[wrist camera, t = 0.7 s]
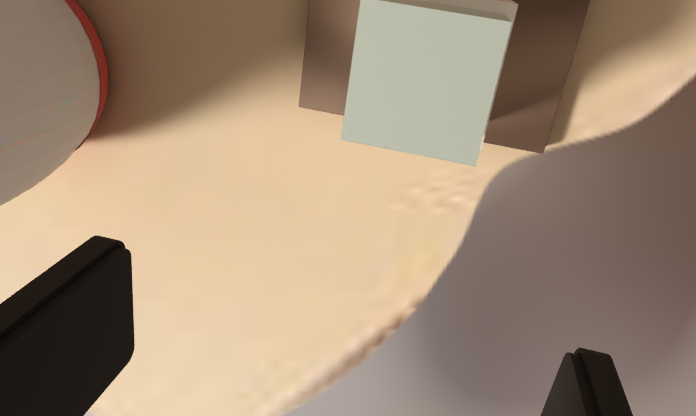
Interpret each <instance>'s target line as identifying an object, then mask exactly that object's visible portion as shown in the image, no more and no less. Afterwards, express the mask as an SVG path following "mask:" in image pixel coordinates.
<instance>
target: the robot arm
mask: <svg viewBox="0 0 696 416" xmlns="http://www.w3.org/2000/svg"><path fill="white" fill-rule="evenodd" d="M133 351H134V321H133V293H132V265H131V253H130V251H129V250H128V249H125V245H124V243H123V242H121V241H119V240H114V239H110V238H106V237H102V236H94V237H92V238H90V239H89V240H87V241H86V242H85V243H83V244H82V245H81V246H79V247H78V248H76V249H75V250H74V251H72V252H71V253H70V254H68V255H67V256H65V257H64V258H63V259H61V260H60V261H59V262H57V263H56V264H54V265H53V266H52V267H50V268H49V269H48V270H46V271H45V272H43V273H42V274H41V275H39V276H38V277H37V278H35V279H34V280H32V281H31V282H30V283H28V284H27V285H26V286H24V287H23V288H22V289H20V290H19V291H17V292H16V293H15V294H13V295H12V296H11V297H9V298H8V299H6V300H5V301H4V302H2V303H1V304H0V416H83V415H84V414H85V413H86V412H87V411H88V410H89V408H90V407H91V406H92V405H93V404H94V402H95V401H96V400H97V399H98V398H99V397H100V395H101V394H102V393H103V392H104V391H105V389H106V388H107V387H108V386H109V385H110V384H111V382H112V381H113V380H114V379H115V378H116V377H117V375H118V374H119V373H120V372H121V371H122V369H123V368H124V367H125V366H126V365H127V364H128V362H129V361H130V359H131V357H132V354H133ZM541 416H633V415H632V412H631V409H630V406H629V404H628V401H627V398H626V396H625V393H624V390H623V387H622V385H621V382H620V379H619V377H618V374H617V371H616V368H615V366H614V363H613V360H612V358H611V356H610V355H608V354H605V353H601V352H596V351H592V350H587V349H583V348H578V349H577V350H576V351H575V353H574V354H573V353H566V354H565V356H564V358H563V360H562V363H561V365H560V368H559V370H558V373H557V375H556V378H555V381H554V383H553V386H552V388H551V391H550V393H549V396H548V398H547V401H546V403H545V406H544V408H543V411H542V413H541Z"/></svg>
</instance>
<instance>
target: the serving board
mask: <svg viewBox="0 0 696 416" xmlns="http://www.w3.org/2000/svg"><path fill="white" fill-rule="evenodd" d="M512 1H514V2H515V3H517V4H518V8H517V12H516V16H515V20H514V24H513V28H512V32H511V36H510V39H509V43H508V47H507V51H506V55H505V59H504V63H503V67H502V71H501V75H500V79H499V83H498V86H497V90H496V94H495V98H494V102H493V106H492V110H491V114H490V118H489V122H488V126H487V130H486V133H485V137H484V141H483V142H484V143H490V144H495V145H500V146H505V147H510V148H516V149H521V150H526V151H531V152H537V153H542V154H543V152H544V149H545V146H546V142H547V139H548V136H549V133H550V129H551V126H552V123H553V119H554V116H555V113H556V110H557V106H558V103H559V100H560V97H561V93H562V90H563V87H564V84H565V80H566V77H567V74H568V70H569V67H570V64H571V61H572V57H573V54H574V51H575V48H576V44H577V41H578V38H579V34H580V31H581V28H582V25H583V21H584V18H585V15H586V12H587V8H588V5H589V2H590V0H512ZM359 7H360V0H310V3H309V13H308V22H307V32H306V42H305V51H304V61H303V70H302V80H301V89H300V99H299V107H302V108H307V109H312V110H317V111H323V112H328V113H333V114H338V115H344V113H345V106H346V99H347V92H348V85H349V78H350V71H351V64H352V56H353V49H354V42H355V35H356V28H357V21H358V14H359Z"/></svg>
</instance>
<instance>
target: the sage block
mask: <svg viewBox="0 0 696 416" xmlns="http://www.w3.org/2000/svg"><path fill="white" fill-rule="evenodd" d="M511 24H512V22H511V20H510V19H509V18H508V17H507V16H506V15H505V14H501V13H495V12H489V11H483V10H476V9H470V8H464V7H458V6H452V5H446V4H440V3H434V2H427V1H421V0H360V7H359V14H358V21H357V28H356V35H355V42H354V49H353V56H352V64H351V71H350V78H349V85H348V92H347V99H346V106H345V113H344V120H343V127H342V134H341V140H344V141H349V142H354V143H359V144H364V145H369V146H374V147H379V148H384V149H389V150H394V151H399V152H405V153H410V154H415V155H420V156H425V157H430V158H435V159H440V160H445V161H450V162H455V163H460V164H465V165H470V166H476V162H477V158H478V154H479V150H480V146H481V142H482V138H483V134H484V131H485V127H486V123H487V119H488V115H489V111H490V107H491V103H492V99H493V95H494V91H495V87H496V83H497V79H498V75H499V71H500V68H501V64H502V60H503V56H504V52H505V48H506V44H507V40H508V36H509V32H510V28H511Z"/></svg>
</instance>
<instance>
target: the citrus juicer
mask: <svg viewBox="0 0 696 416" xmlns="http://www.w3.org/2000/svg"><path fill="white" fill-rule="evenodd" d="M108 78H109V75H108V68H107V61H106V56H105V53H104V50H103V47H102V44H101V41H100V38H99V36H98V34H97V32H96V30H95V28H94V26H93V24H92V23H91V21H90V20H89V18H88V17H87V15H86V14H85V13H84V11H83V10H82V8H81V7H80V6H79V5H78V4H77V3H76V2H75V1H74V0H0V205H2V204H4V203H6V202H8V201H10V200H12V199H13V198H15V197H17V196H18V195H20V194H22V193H23V192H25V191H27V190H28V189H30V188H32V187H33V186H35V185H36V184H38V183H39V182H40V181H42V180H43V179H45V178H46V177H47V176H49V175H50V174H51V173H52V172H53V171H55V170H56V169H57V168H58V167H59V166H61V165H62V164H63V163H64V162H65V161H66V160H67V159H68V158H69V156H70V155H71V154H72V153H73V152H74V151H75V150H77V149H78V148H79V147H80V146H81V145H82V144H83V143H84V141H85V140H86V139H87V138H88V137H89V135H90V134H91V132H92V131H93V129H94V127H95V125H96V123H97V121H98V119H99V117H100V115H101V113H102V111H103V109H104V107H105V103H106V98H107V94H108Z"/></svg>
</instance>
